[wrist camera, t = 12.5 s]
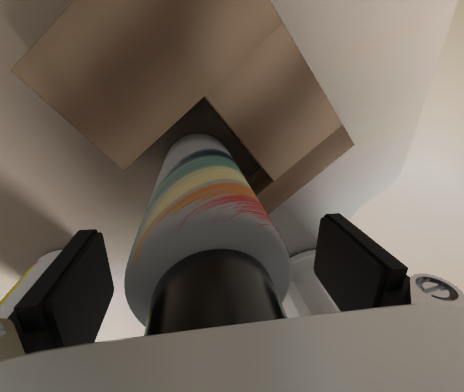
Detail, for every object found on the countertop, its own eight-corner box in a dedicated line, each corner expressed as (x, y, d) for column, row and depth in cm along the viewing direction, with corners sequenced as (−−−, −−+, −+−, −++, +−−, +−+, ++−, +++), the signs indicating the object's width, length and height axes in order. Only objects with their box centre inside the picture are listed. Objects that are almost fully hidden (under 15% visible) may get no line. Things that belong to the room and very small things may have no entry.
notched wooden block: (327, 136, 23) (354, 144, 19) (213, 230, 25) (218, 254, 21) (192, -80, 16) (193, -131, 12) (46, 74, 18) (10, 70, 14)
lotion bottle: (208, 205, 24) (267, 587, 5) (153, 174, 22) (-37, 604, 4) (242, 155, 22) (474, 443, 4) (187, 118, 20) (166, 347, 2)
